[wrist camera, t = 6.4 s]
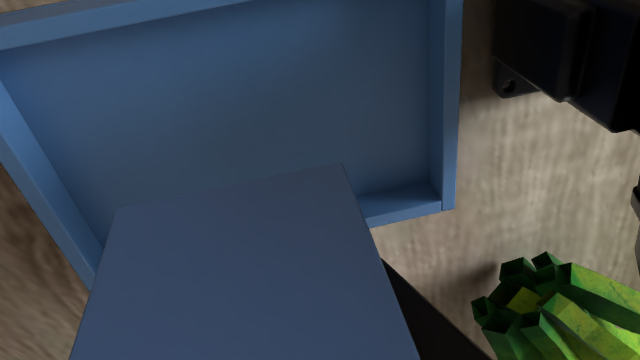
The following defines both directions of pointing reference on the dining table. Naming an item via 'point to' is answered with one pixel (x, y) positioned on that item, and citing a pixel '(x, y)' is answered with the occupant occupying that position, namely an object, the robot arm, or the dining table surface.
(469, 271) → the dining table surface
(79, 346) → the blue block
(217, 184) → the blue tray
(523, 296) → the decorative plant
